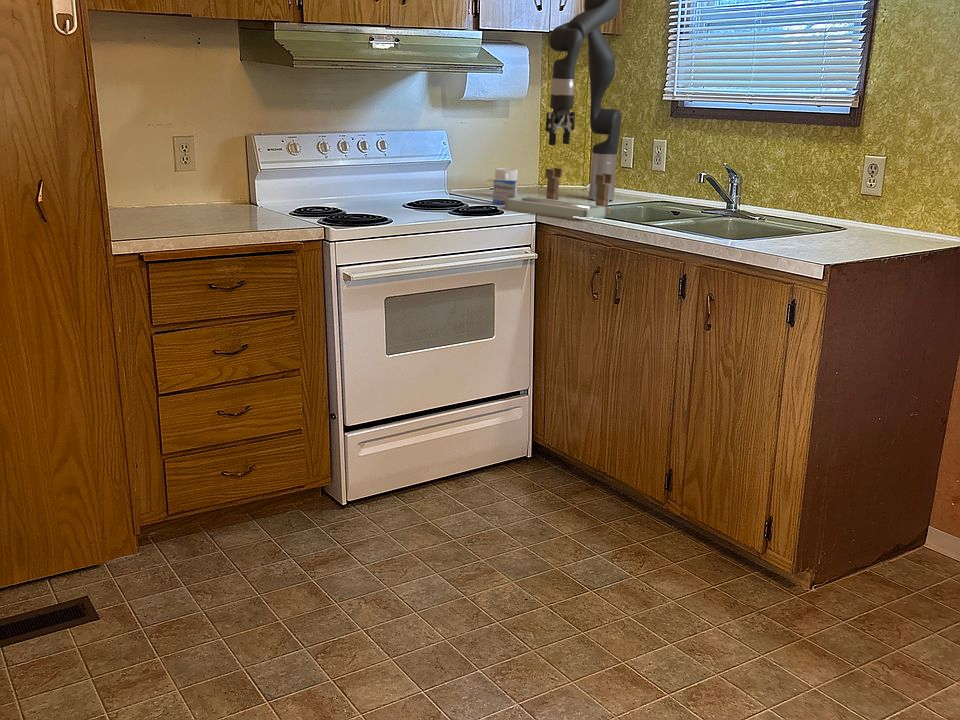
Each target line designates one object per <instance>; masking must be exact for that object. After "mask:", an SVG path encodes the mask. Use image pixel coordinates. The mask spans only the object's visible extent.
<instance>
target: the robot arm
mask: <svg viewBox="0 0 960 720" xmlns="http://www.w3.org/2000/svg"><path fill="white" fill-rule="evenodd" d="M583 5H584V7H583V10H584V11H583V12H580V13H578V14H577V15H575V16H574V17H572V19H571V20H570V21H568V22H565V23H563V24H560V25H558V26H556V27H555V28H554V29H553V30H552V31H551V32H550V34H549V36H548V43H549V47H550V48H551V49H552V50H553V51H555V52H567V54H566V56H565V57H564V58H560V59H556V60H555V61H554V62H553V65H552V66H553V67H552V80H551V86H550V100H549V101H550V102H549V106H550V109H552V112H551V111H547V112H546V119H545V129H544V130H545V132H547V133H548V135H549V137H548V145H549V146H556V144H557V132H558V130H559V129H560V128H562V131H563V135H562V144H563V145H569V144H570V139H571V133H572V131H574V130H575V123H576V122H575V121H576V113H575V111H570V110H573V108H574V98H575V74H576V64H577V62H578V57H579V54H580V52H581V50H582V49H581V48H582V46H583V41H584V39H585V38H587V46H588V47H587V48H588V72H589V73H588V74H589V76H588V77H589V85H590V86H589V87H590V108H589V109H590V111H589V119H590V120H589V125H590V130H591V131H592V133H593V134H596V135H605V136H607V135H608V136H607V139H606V140H604V141H602V142H599V143H596V144H594V145H593V146H592V149H591V150H592V152H591V164H590V165H591V166H590V175H589V176H590V177H589V178H590V179H589V188H588V189H589V192H588V199H589V200H590V199H593V200H592V201H596V194H597V184H595V180H596V175H603V174H612V183H611V184H609V183H607V184H609V195H608V200H613V201H614V199H615V188H616V187H615V186H616V177H617V176H616V175H617V174H616V169H617V158H618V157H617V156H618V148H619V143H620V133H621V126H622V113H621V111H620V110H619V109H616V108H615V109H614V108H602V102H603V101H602V100H603V97H604V95H605V93H606V91H607V90H608V88H609V87H610V85H611V84H612V82H613V80H614V79H615V76H616V60H615V59H616V57H615V53H614V51H613V49H612V47H611V45H610V43H608V41H607V40H606V38H605V37H604V34H603V33H602V30H601V26H602V25H604V24H606V23H607V22H610V21H612V20H613V19H615V18H616V16H617V14H618V12H619V8H620V0H584V4H583ZM613 198H614V199H613Z"/></svg>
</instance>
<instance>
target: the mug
mask: <svg viewBox="0 0 960 720" xmlns="http://www.w3.org/2000/svg"><path fill="white" fill-rule="evenodd" d="M494 171H495V174H494V175H495V176H494V179H504V180H517V181H518V177H519V176H518V174H519V172H518V171H519V170H518V169H517V168H512V167H496V168H495V170H494ZM517 189H518V182H517V183H516V195H517V194H518V192H517V191H518V190H517Z"/></svg>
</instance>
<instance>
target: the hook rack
mask: <svg viewBox="0 0 960 720" xmlns="http://www.w3.org/2000/svg"><path fill="white" fill-rule="evenodd" d="M544 177H545V179H547V182H546V195H545V196H546V199H553V200H559V190H560V189H559V187H560V178H563V168H560V167H553V169H552V168H546V169H545V176H544ZM607 183H609V184H611V183H612V174H603V175H596V180H595V184H597V194H596V200H595V205H596V206H604V207H606V215H607V214H608V215H609V214H611V211H612V210H611V208H610V207H609V206H608V204H609V201H608V195H609V184H607Z"/></svg>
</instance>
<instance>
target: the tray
mask: <svg viewBox="0 0 960 720" xmlns="http://www.w3.org/2000/svg"><path fill="white" fill-rule="evenodd" d="M522 198H531V199H539V200H546V201H553V202H560V203H567V204H575V205H582V206H589V207H591V209H587V210H584V209H577V208H570V207H563V206H556V205H549V204H541V203H534V202H527V201H521V200H522ZM504 210H508V211H514V212H521V213H528V214H533V215H541V216H546V217H547V216H548V217H555V218H562V219H568V220H570V219H569V217H573V216H579V217H593V218H600V219H605V218H606V217H607V216H606V215H607V214H606V207H604V206H596V204H588V203H587V204H586V203H581V202H574V201H566V200H559V199H558V200H553V199H546V198H544V197H537V196H531V195H523V196H516V197H515V198H508V199H505V205H504Z"/></svg>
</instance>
